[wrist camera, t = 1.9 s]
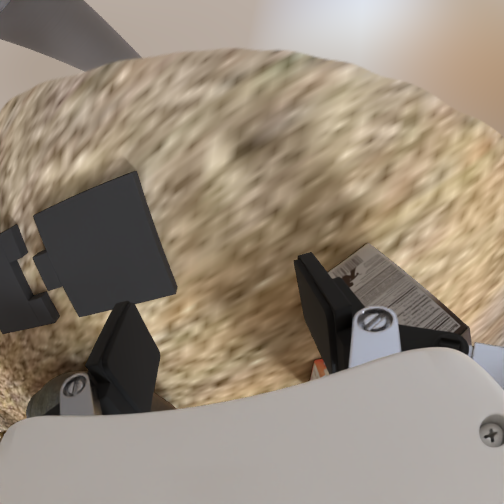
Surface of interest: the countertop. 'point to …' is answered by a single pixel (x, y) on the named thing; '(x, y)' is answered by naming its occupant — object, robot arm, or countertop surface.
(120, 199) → the pad
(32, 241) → the countertop surface
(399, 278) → the coffee box
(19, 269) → the base pad
